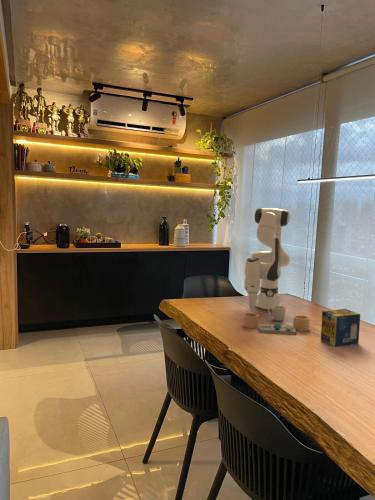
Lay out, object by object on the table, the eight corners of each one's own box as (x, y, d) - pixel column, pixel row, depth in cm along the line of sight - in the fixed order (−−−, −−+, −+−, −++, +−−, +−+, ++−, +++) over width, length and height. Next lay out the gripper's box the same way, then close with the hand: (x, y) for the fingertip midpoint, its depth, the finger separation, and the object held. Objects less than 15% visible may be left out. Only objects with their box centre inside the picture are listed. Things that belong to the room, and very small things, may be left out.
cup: (265, 319, 226) (266, 307, 225) (269, 316, 233) (269, 304, 232) (283, 322, 221) (284, 309, 220) (286, 319, 228) (287, 306, 227)
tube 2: (292, 326, 214) (292, 314, 214) (307, 326, 213) (308, 315, 213) (294, 330, 206) (295, 319, 205) (310, 331, 205) (311, 319, 204)
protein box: (320, 340, 191) (321, 310, 189) (343, 337, 196) (345, 308, 195) (334, 347, 181) (336, 316, 179) (359, 343, 186) (361, 313, 185)
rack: (260, 332, 202) (260, 329, 201) (259, 328, 209) (259, 325, 209) (296, 334, 199) (296, 331, 199) (293, 329, 207) (293, 327, 207)
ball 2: (284, 328, 206) (284, 321, 205) (291, 329, 205) (291, 322, 205) (285, 330, 202) (285, 323, 201) (292, 331, 201) (293, 324, 201)
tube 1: (243, 323, 218) (243, 312, 217) (258, 324, 217) (258, 313, 216) (243, 327, 209) (243, 316, 209) (259, 328, 208) (259, 317, 208)
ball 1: (273, 328, 206) (273, 321, 206) (280, 328, 206) (280, 321, 206) (273, 330, 202) (274, 323, 202) (281, 330, 202) (281, 323, 202)
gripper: (246, 282, 221) (245, 305, 223) (247, 289, 201) (246, 314, 203) (256, 283, 221) (255, 305, 222) (258, 290, 200) (258, 315, 202)
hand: (251, 310), depth 212 cm, fingers open, 8 cm apart
